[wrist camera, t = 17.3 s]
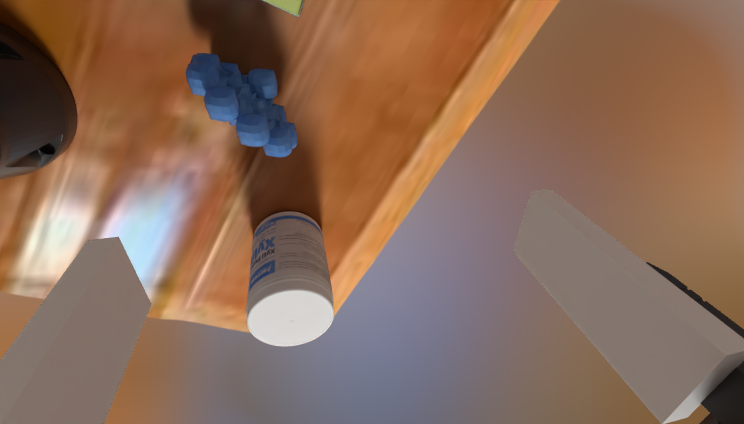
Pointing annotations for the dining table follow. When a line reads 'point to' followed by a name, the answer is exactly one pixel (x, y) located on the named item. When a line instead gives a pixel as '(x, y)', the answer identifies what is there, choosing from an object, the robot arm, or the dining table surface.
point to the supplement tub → (289, 281)
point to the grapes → (243, 103)
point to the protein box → (288, 5)
